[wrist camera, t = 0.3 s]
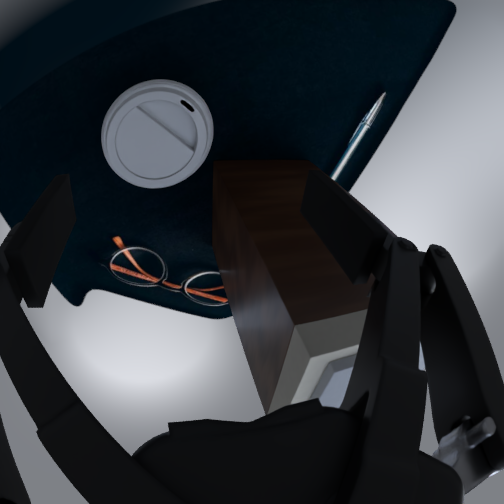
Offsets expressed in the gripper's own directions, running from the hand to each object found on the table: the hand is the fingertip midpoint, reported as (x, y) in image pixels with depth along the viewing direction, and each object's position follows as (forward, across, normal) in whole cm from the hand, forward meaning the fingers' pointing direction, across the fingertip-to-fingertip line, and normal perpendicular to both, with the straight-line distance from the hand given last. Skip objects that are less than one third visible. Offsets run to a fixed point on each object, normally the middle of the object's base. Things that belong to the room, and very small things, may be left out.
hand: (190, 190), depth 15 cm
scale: (-4, +13, -13) cm, 19 cm away
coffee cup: (+24, -2, 0) cm, 24 cm away
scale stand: (+24, +12, -13) cm, 30 cm away
